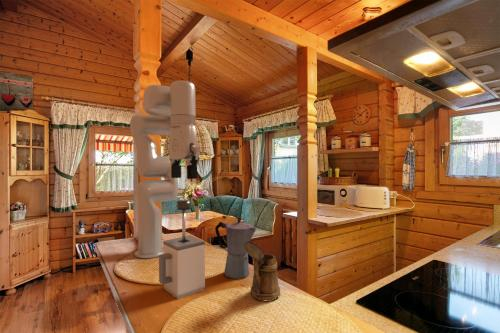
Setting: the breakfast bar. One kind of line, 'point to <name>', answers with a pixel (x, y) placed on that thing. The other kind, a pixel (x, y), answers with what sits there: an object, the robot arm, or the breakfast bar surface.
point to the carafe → (182, 266)
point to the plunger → (183, 215)
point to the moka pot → (236, 247)
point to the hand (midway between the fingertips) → (183, 178)
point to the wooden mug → (263, 273)
